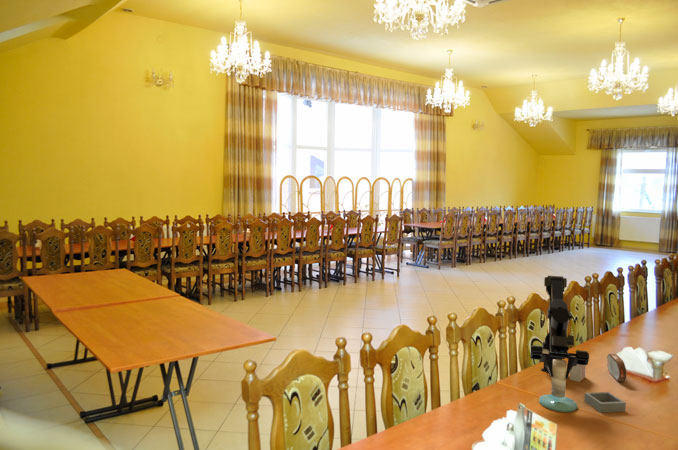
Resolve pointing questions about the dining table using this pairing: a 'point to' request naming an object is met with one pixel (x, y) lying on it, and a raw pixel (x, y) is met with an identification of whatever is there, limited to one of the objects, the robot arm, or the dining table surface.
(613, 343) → the dining table surface
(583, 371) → the milk carton
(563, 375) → the peg
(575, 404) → the saucer
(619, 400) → the pocket
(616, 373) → the tin
